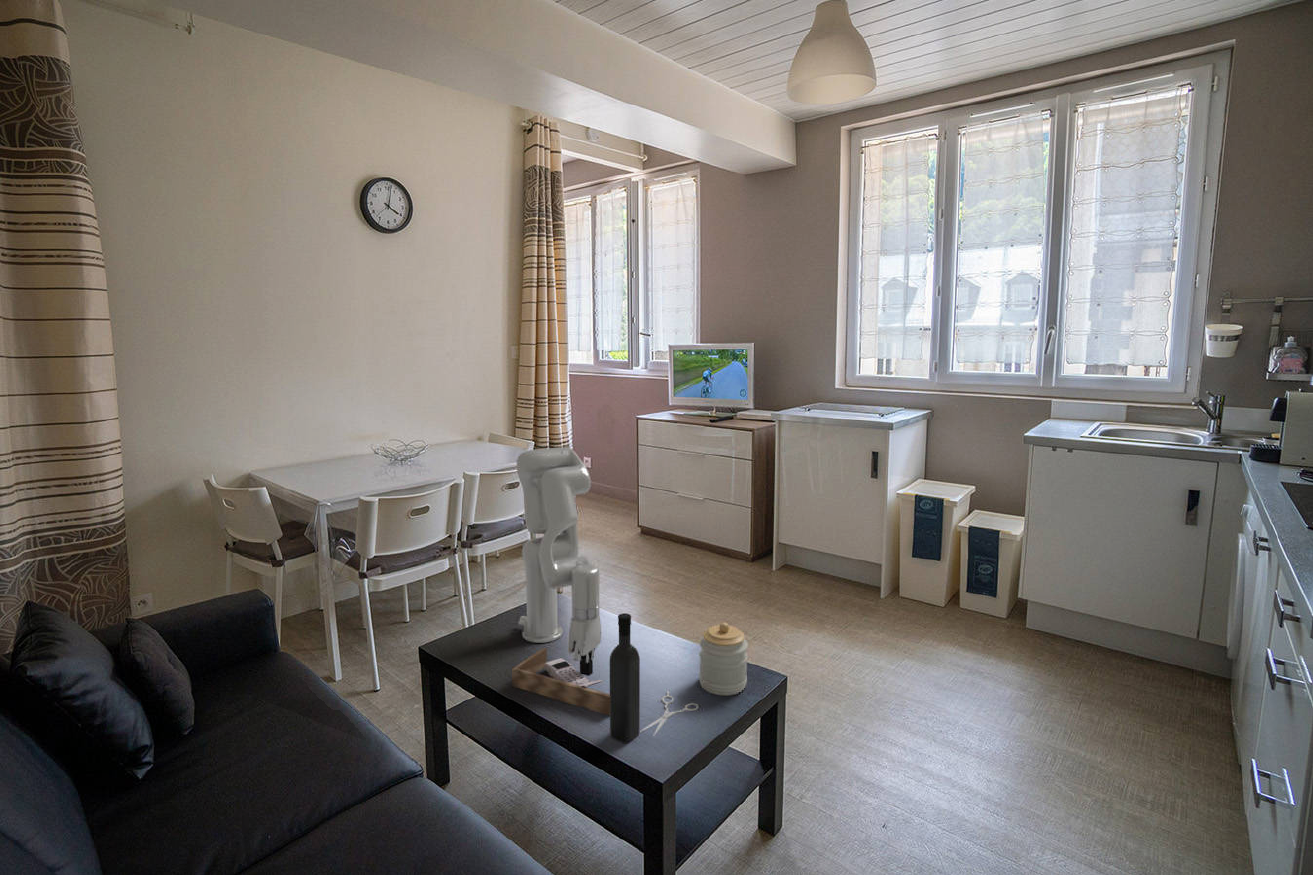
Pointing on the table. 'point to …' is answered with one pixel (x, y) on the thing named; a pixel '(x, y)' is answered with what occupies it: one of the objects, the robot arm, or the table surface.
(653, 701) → the table surface
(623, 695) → the wine bottle
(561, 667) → the mobile phone
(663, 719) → the scissors
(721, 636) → the jar
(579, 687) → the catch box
